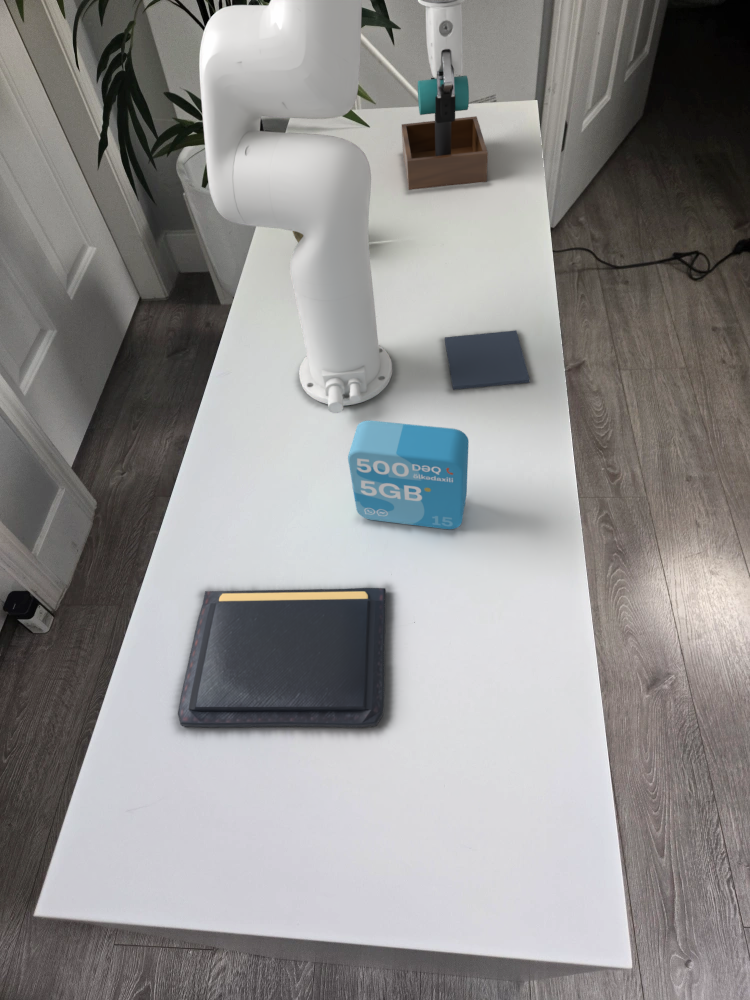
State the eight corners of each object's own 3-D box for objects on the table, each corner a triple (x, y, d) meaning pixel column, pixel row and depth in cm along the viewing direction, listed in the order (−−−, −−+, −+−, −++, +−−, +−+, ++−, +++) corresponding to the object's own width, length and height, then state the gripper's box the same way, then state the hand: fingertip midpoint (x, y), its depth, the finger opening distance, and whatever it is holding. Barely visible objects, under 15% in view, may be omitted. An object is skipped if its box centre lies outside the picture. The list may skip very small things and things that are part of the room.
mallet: (467, 172, 126) (469, 84, 114) (422, 176, 126) (420, 89, 114) (463, 155, 129) (464, 69, 118) (419, 160, 130) (416, 74, 118)
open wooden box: (486, 184, 124) (487, 152, 119) (408, 192, 124) (407, 161, 120) (475, 146, 132) (476, 116, 128) (402, 154, 132) (401, 124, 128)
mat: (529, 382, 93) (529, 379, 92) (453, 389, 93) (453, 386, 93) (516, 333, 99) (516, 330, 98) (444, 340, 99) (444, 337, 99)
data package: (357, 519, 81) (345, 449, 72) (365, 488, 84) (355, 417, 75) (461, 531, 79) (463, 462, 70) (466, 500, 82) (469, 428, 72)
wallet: (169, 719, 67) (202, 580, 76) (175, 726, 68) (207, 589, 77) (381, 726, 65) (389, 582, 74) (382, 733, 66) (390, 591, 75)
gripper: (475, 4, 101) (472, 133, 115) (460, -35, 111) (458, 87, 125) (422, 10, 101) (425, 138, 115) (412, -30, 111) (416, 92, 126)
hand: (443, 110), depth 120 cm, fingers open, 6 cm apart
